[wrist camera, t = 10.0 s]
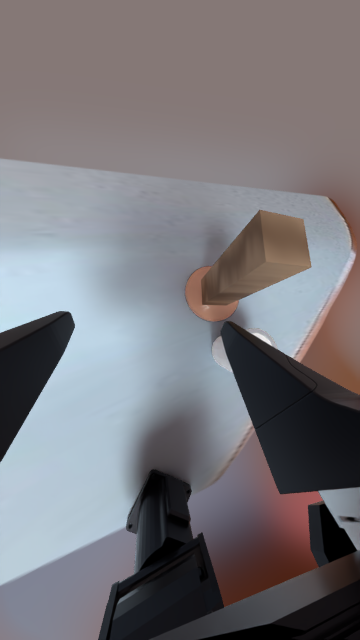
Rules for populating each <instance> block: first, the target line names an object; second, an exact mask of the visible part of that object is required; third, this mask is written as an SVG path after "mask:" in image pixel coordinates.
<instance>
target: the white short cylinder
mask: <svg viewBox="0 0 360 640" xmlns="http://www.w3.org/2000/svg"><path fill="white" fill-rule="evenodd" d="M245 330H246V331H248V332H250V333H251V334H253V335H255V336H256V337H258V338H260V339H261V340H263V341H265V342H266V343H268V344H269V345H271V346H273V347H274V348H276V349H278V347H277V345H276V343H275V341H274V339H273V338H272V337H271V336H270V335H269V334H268V333H267V332H266V331H263V330H261V329H259V328H249V329H245ZM212 356H213V358H214V360H215V361H216V362H217V363H218V364H219V365H220V366H222V367H223V368H225V369H227V370H228V371H230V372H232V373H233V371H232V368H231V366H230V363H229V361H228V358H227V355H226V352H225V349H224V345H223V341H222V337H221V336H219V337H217V339H216V340H215V341H214V342H213V346H212Z"/></svg>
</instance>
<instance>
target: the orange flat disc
mask: <svg viewBox="0 0 360 640" xmlns="http://www.w3.org/2000/svg"><path fill="white" fill-rule="evenodd" d="M211 267H212V266H206V267H202V268H200V269H198V270H196V271H195V272H194V273H193V274H192V275H191V276H190V278H189V280H188V282H187V284H186V288H185V296H186V301H187V303H188V305H189V307H190V309H191V310H192V311H193V313H194V314H196V315H197V316H198V317H200V318H201V319H203V320H206V321H212V322H215V321H221V320H224V319H226V318H228V317H229V316H231V315H232V314H233V313H234V311H235V310H236V308H237V305H238V302H239V300H237V301H235V302H233V303H231V304H228V305H226V306H224V305H202V289H201V279H202V278H203V277H204V276H205V274H206V273H207V272H208V271H209V270H210V268H211Z"/></svg>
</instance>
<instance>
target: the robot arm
mask: <svg viewBox="0 0 360 640" xmlns="http://www.w3.org/2000/svg"><path fill="white" fill-rule="evenodd" d="M74 328H75V324H74V321H73V318H72V315H71V313H70V312H66V311H59V312H56V313H53V314H50V315H48V316H45V317H42V318H40V319H37V320H34V321H31V322H29V323H26V324H23V325H21V326H18V327H15V328H12V329H10V330H7V331H4V332H2V333H0V462H1V461H2V459H3V457H4V456H5V454H6V452H7V450H8V449H9V447H10V445H11V444H12V442H13V440H14V438H15V437H16V435H17V433H18V431H19V430H20V428H21V426H22V425H23V423H24V421H25V419H26V418H27V416H28V414H29V412H30V411H31V409H32V407H33V406H34V404H35V402H36V400H37V399H38V397H39V395H40V393H41V392H42V390H43V388H44V387H45V385H46V383H47V381H48V380H49V378H50V376H51V374H52V373H53V371H54V369H55V368H56V366H57V364H58V362H59V361H60V359H61V357H62V355H63V353H64V351H65V349H66V347H67V345H68V342H69V340H70V338H71V335H72V333H73V331H74ZM221 337H222V341H223V345H224V349H225V352H226V355H227V358H228V361H229V363H230V366H231V368H232V371H233V374H234V376H235V379H236V381H237V384H238V387H239V389H240V392H241V395H242V397H243V400H244V402H245V405H246V408H247V410H248V413H249V415H250V418H251V421H252V423H253V426H254V428H255V431H256V434H257V436H258V439H259V442H260V444H261V447H262V449H263V452H264V455H265V457H266V460H267V463H268V465H269V468H270V470H271V473H272V476H273V478H274V481H275V483H276V486H277V488H278V491H279V493H280V494H289V493H301V492H312V491H318V492H319V494H320V496H321V498H322V499H323V501H321V502H317V503H314V504H310V505H308V514H309V531H310V547H311V551H312V553H313V555H314V558H315V560H316V562H317V564H318V566H319V568H316V569H314V570H311V571H309V572H307V573H305V574H302V575H300V576H297V577H295V578H293V579H291V580H288V581H286V582H283V583H281V584H279V585H276V586H274V587H272V588H269V589H267V590H265V591H262V592H260V593H258V594H255V595H253V596H250V597H248V598H246V599H244V600H241V601H239V602H236V603H234V604H232V605H229V606H227V607H225V608H224V605H223V601H222V597H221V594H220V590H219V587H218V583H217V580H216V577H215V573H214V570H213V566H212V563H211V560H210V556H209V553H208V550H207V547H206V543H205V540H204V536H203V533H200V534H198V537H196V538H195V539H193V536H192V531H191V526H190V520H191V518H190V514H189V509H188V505H187V502H188V499H189V497H190V495H191V492H192V490H191V486H190V485H189V484H187V483H184V482H182V481H181V480H179V479H176V478H174V477H172V476H169V475H166V474H163V473H161V472H159V471H157V470H152V471H151V472H150V474H149V476H148V478H147V480H146V482H145V484H144V486H143V489H142V491H141V493H140V495H139V497H138V499H137V501H136V503H135V506H134V508H133V510H132V512H131V514H130V516H129V518H128V520H127V525H126V529H127V531H129V532H132V533H135V534H137V540H136V553H135V566H134V574H133V575H132V576H130V577H128V578H127V579H125V580H123V581H121V582H120V583H119V581H118V582H116V583H114V584H113V585H112V588H111V592H110V596H109V600H108V603H107V606H106V611H105V614H104V618H103V623H102V626H101V630H100V634H99V639H98V640H360V395H358V394H356V393H354V392H351V391H350V390H348V389H346V388H344V387H342V386H340V385H338V384H336V383H335V382H333V381H331V380H329V379H327V378H326V377H324V376H322V375H320V374H319V373H317V372H315V371H313V370H311V369H310V368H308V367H306V366H304V365H303V364H301V363H299V362H298V361H296V360H294V359H293V358H291V357H289V356H288V355H285V354H284V353H283V352H281V351H279V350H278V349H276V348H274V347H273V346H271V345H269V344H268V343H266V342H265V341H263V340H261V339H260V338H258V337H256V336H255V335H253V334H251V333H250V332H248V331H246V330H245V329H243V328H241V327H240V326H238V325H237V324H235V323H233V322H231V321H226V322H225V323H224V325H223V327H222V329H221ZM152 475H154V476H152ZM188 489H189V490H188ZM187 490H188V491H187Z"/></svg>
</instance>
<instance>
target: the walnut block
mask: <svg viewBox="0 0 360 640" xmlns="http://www.w3.org/2000/svg"><path fill="white" fill-rule="evenodd" d="M309 268H311V261H310V256H309V250H308V244H307V238H306V232H305V226H304V220H303V219H300V218H295V217H291V216H286V215H281V214H277V213H272V212H267V211H263V210H259V211H258V213H257V214H256V215H255V216H254V217H253V218H252V220H251V221H250V222H249V223H248V224H247V226H246V227H245V228H244V229H243V230H242V232H241V233H240V234H239V235H238V236H237V238H236V239H235V240H234V241H233V242H232V243H231V245H230V246H229V247H228V248H227V249H226V251H225V252H224V253H223V254H222V255H221V257H220V258H219V259H218V260H217V261H216V262H215V264H214V265H213V266H212V267H211V268H210V270H209V271H208V272H207V273H206V274H205V276H204V277H203V278H202V279H201V289H202V305H224V306H226V305H228V304H231V303H233V302H235V301H237V300H240V299H242V298H244V297H246V296H248V295H251V294H253V293H255V292H257V291H260V290H262V289H264V288H266V287H269V286H271V285H273V284H275V283H277V282H280V281H282V280H284V279H286V278H289V277H291V276H293V275H295V274H297V273H300V272H302V271H304V270H306V269H309Z"/></svg>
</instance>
